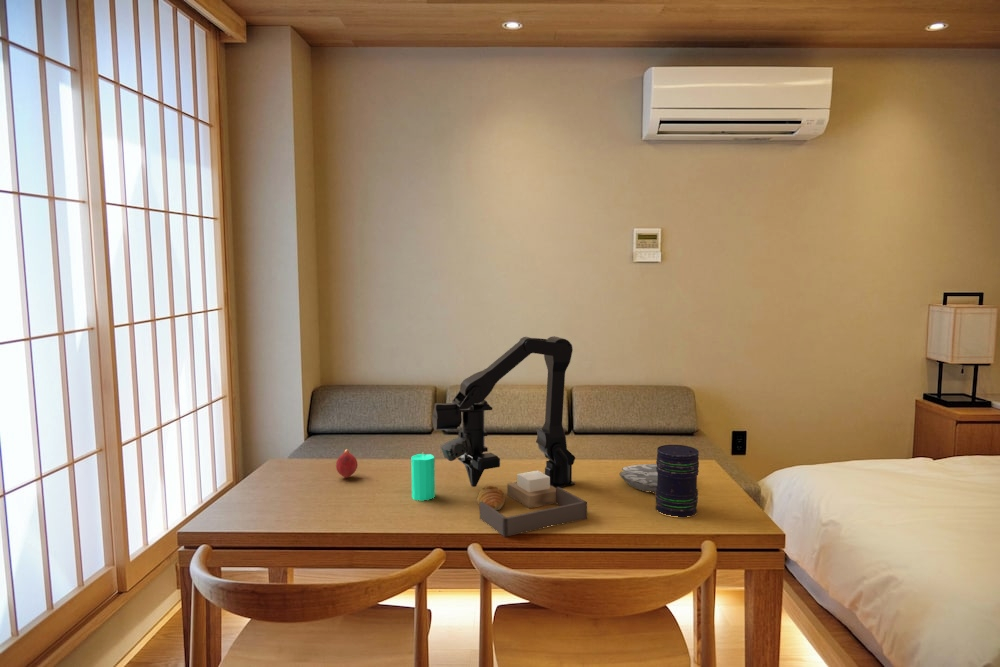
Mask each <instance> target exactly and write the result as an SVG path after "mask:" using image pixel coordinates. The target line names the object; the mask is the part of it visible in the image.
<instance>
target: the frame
mask: <svg viewBox="0 0 1000 667" xmlns="http://www.w3.org/2000/svg"><path fill="white" fill-rule="evenodd" d="M555 504H556V505H558V506H554V507H550V508H545V509H544V508H543V509H541V510H536V511H535V510H534V511H530V512H526V513H521V514H516V515H511V516H510V515H509V516H507V517H506V516H505V515H503V514H502V513H501V512H499V511H498V510H494V509H493V508H492V507H490V506H489V505H487V504H486V503H484V502H480V505H479V520H481V519H482V520H483V521H482V520H481V521H482V522H484V521H485V522H486V523H487V524H486V523H485V522H484V523H485V524H486V525H488V524H489V525H490V526H492V527H493V528H494V529H495V530H494V529H493V528H492V527H491V528H492V529H493V530H494V531H496V530H497V531H498V532H497V531H496V532H497V533H499V534H500V535H501V536H503V537H504V538H506V537H509V536H511V537H512V536H515V535H519V533H520V534H522V533H521V532H525V533H527V532H526V531H529V532H531V531H530V530H534V531H536V530H535V529H538V530H540V529H539V528H542V529H544V528H543V527H547V526H551V525H556V526H558V525H557V524H560V525H563V524H562V523H565V524H568V523H567V522H569V523H573V522H572V521H574V522H578V521H581V520H582V519H583V520H588V501H586V500H584V499H582V498H581V497H578V496H577V495H575V494H573V493H571V492H569V491H567V490H565V489H563V487H556V503H555ZM489 525H488V526H489ZM490 526H489V527H490ZM551 527H552V526H551ZM547 528H548V527H547Z"/></svg>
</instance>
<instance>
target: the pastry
mask: <svg viewBox="0 0 1000 667" xmlns="http://www.w3.org/2000/svg"><path fill="white" fill-rule="evenodd" d="M504 494H505V493H504V492H503V491H502V489H499V488H498V487H497V486H494V485H489V486H486V487H482V489H480V491H479V493H478V494H477V498H476V501H477V504H478V505H479V504H480V502H484V503H486V504H487V505H489V506H490V507H492V508H493V509H494V510H496V511H500V510H501V509H502V507H504V505H505V501H506V498H505V495H504Z"/></svg>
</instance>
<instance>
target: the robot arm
mask: <svg viewBox="0 0 1000 667" xmlns="http://www.w3.org/2000/svg"><path fill="white" fill-rule="evenodd" d="M573 352H574V351H573V344H572V343H571V341H570V340H568V339H566V338H564V337H563V338H562V337H559V336H554V335H553V336H549V337H548V338H538V337H529V336H523V337H522V338H519V341H517V343H515V344H514V345H513V346H512V347H511V348H509V349H508V350H507V351H505V352H504V353H503V354H501V356H499V357H498V358H497V359H496V360H495V361H494V362H492V363H491V364H489V366H487V368H484V369H483V370H480V371H478V372H476V373H473V374H472V375H470V376H468V377H467V378H464V380H462V381H461V383H460V387H459V391H458V392H457V394H456V395H455V396H454V398H453V399H452V401H451V402H449V403H448V402H447V403H445V402H444V403H441V402H438V403H437V402H435V403H433V404H434V408H433V411H432V414H431V418H432V420H431V422H432V428H433V430H434V431H435V432H436V431H449V430H457V429H458V428H459V427H461V426H462V429H460V430H459V431H458V436H457V437H455V438H453V439H451V440H448V441H447V442H445V443H443V444H442V445H441V444H440V449H441V453H442V455H443V457H444V459H447V460H448V461H450V462H453V461H455V460H456V459H457V460H458V461H459V462H460V463H462V464H463V466H464V467H465V469H466V470H465V471H466V473H467V477H468V479H469V483H470V486H471V487H472V488H475V487H477V485H478V483H479V481H480V479H481V477H482V475H483V473H484V471H485V470H489V469H496V468H500V467H501V458H500V457H498V455H496V454H494V453H492V452H489V448H488V447H487V446H486V444H485V443H486V442H485V437H487V436H488V431H486V430H485V411H492V410H493V407H492V406H491V405H490V404H489V403H488V402H487V400H485V399H487V397H488V396H489V395H490V394H491V392H492V391H493V389H494V388H495V385H497V383H498V382H499V381H500V380H501V379H502V378H504V377H505V376H506V375H507V374H509V373H510V372H511V371H512V370H513V369H514V368H516V366H518V365H520V363H522V362H523V361H524V360H525V359H526V358H528V357H529V356H530V355H531V354H538V355H542V356H543V358H544V361H545V365H546V369H547V379H546V380H547V383H546V397H545V398H546V399H545V400H546V401H545V418H544V419H545V420H544V423H543V426H542V428H540V427H538V428H537V429H536V432H537V433H536V434H537V437H536V440H535V443H536V444H537V445H538V449H539V450H540V451H541V452H542V453H543V454H544V458H546V459H548V460H546V461H545V465H546V466H545V467H544V474H545V475H547V476H549V477H550V485H551V486H553V487H555V488H556V487H560V488H564V487H569V486H574V485H575V486H576V482H575V481H573V479H572V476H573V470H572V469H573V468H572V466H573V465H574V463H575V460H576V457H575V455H574V454H572V453H571V452H570V451H569V450H568V445H567V437H566V433H565V430H564V426H563V420H564V419H563V418H564V417H563V416H564V415H563V414H564V400H565V399H564V398H565V397H564V396H565V384H566V382H565V381H566V378H565V377H566V372H567V369H568V368H569V365H570V364H571V360H572V354H573ZM486 452H487V453H486Z"/></svg>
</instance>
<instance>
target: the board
mask: <svg viewBox="0 0 1000 667" xmlns="http://www.w3.org/2000/svg"><path fill="white" fill-rule="evenodd" d="M506 484H507V485H506V487H507V490H506V491H507V492H506V494H507V496H509V497H511V498H512V499H513V498H514V499H513V500H515V501H516V502H518V501H519V502H518V503H519V504H521V503H522V505H523V506H524V507H526V508H528V509H533V507H534V508H538V507H543V505H544V506H549V505H552V504H553V505H554V504H557V503H556V488H555V487H553V486H551V485H550V489H545V490H540V491H534V492H528V491H526V490H524V489H523V488H521V487H519V486H518V485H517V481H512V482H508V483H506ZM548 504H549V505H548Z"/></svg>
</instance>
